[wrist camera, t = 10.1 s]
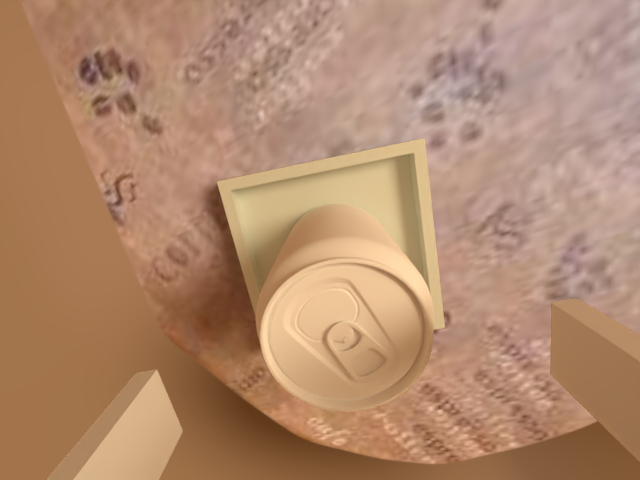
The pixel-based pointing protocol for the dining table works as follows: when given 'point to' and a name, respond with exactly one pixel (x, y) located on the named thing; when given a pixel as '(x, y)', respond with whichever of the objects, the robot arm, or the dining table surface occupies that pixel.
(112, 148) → the dining table surface
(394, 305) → the beverage can
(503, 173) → the dining table surface
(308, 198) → the holder tray
